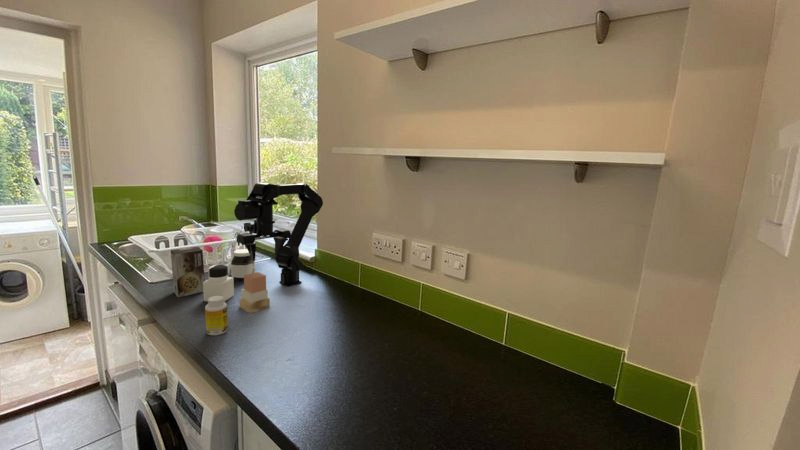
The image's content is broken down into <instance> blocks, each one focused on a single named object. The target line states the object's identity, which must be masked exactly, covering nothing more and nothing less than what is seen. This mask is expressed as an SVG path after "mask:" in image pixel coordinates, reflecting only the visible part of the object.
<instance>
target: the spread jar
mask: <svg viewBox="0 0 800 450" xmlns="http://www.w3.org/2000/svg"><path fill="white" fill-rule="evenodd" d="M227 267H228V275H229V274H230V275H231V276H230V277H233V279H234V281H238V282H244V275H248V274H252V273H256V260H255V261H252V259H251V256H250V254H249V251H248V249H247V248H246V249H245V248H242V249H237V250H234V251H233V257H232V259H231V262H230V263H229V264H228V265H227Z"/></svg>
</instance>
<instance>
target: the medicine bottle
mask: <svg viewBox="0 0 800 450" xmlns="http://www.w3.org/2000/svg"><path fill="white" fill-rule="evenodd" d="M207 269H208V271H207V273H208V279H206V280H205V281H204V282H203V292H202V293H203V301H204V302H208V299H209V298H210V297H213V296H223V297H224V302H225V303H226V301H227V300H229V299H230V298H232V297H234V296H235V287H234V286H235V285H234V284H235V283H234V282H235V279H233V277H232V276H229V273H228V265H225V264H214V265H211V266H209V267H208V268H207Z"/></svg>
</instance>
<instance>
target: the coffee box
mask: <svg viewBox="0 0 800 450" xmlns="http://www.w3.org/2000/svg"><path fill="white" fill-rule="evenodd" d="M170 258H171V271H172V286H173V294H174V295H176V297H177V298H182V297H186V296H191V295H196V294H200V293H203V282H204V281H206V280H205V264H204V251H203V249H201V247H199V246H195V247H194V246H193V247H191V246H190V247H184V248H177V249H170Z"/></svg>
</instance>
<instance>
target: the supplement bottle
mask: <svg viewBox="0 0 800 450" xmlns="http://www.w3.org/2000/svg"><path fill="white" fill-rule="evenodd" d="M204 311H205V312H204V313H205V316H204V317H205V332H206V334H207V335H209V336H219V335H220V336H221V335H223V334H225V333H226V332H227V331H228V328H229V326H228V323H229V322H228V304H227V303H226V301H225V302H224V297H223V296H213V297H210V298H209V299H208V301H207V304H206V305H205V307H204Z"/></svg>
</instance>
